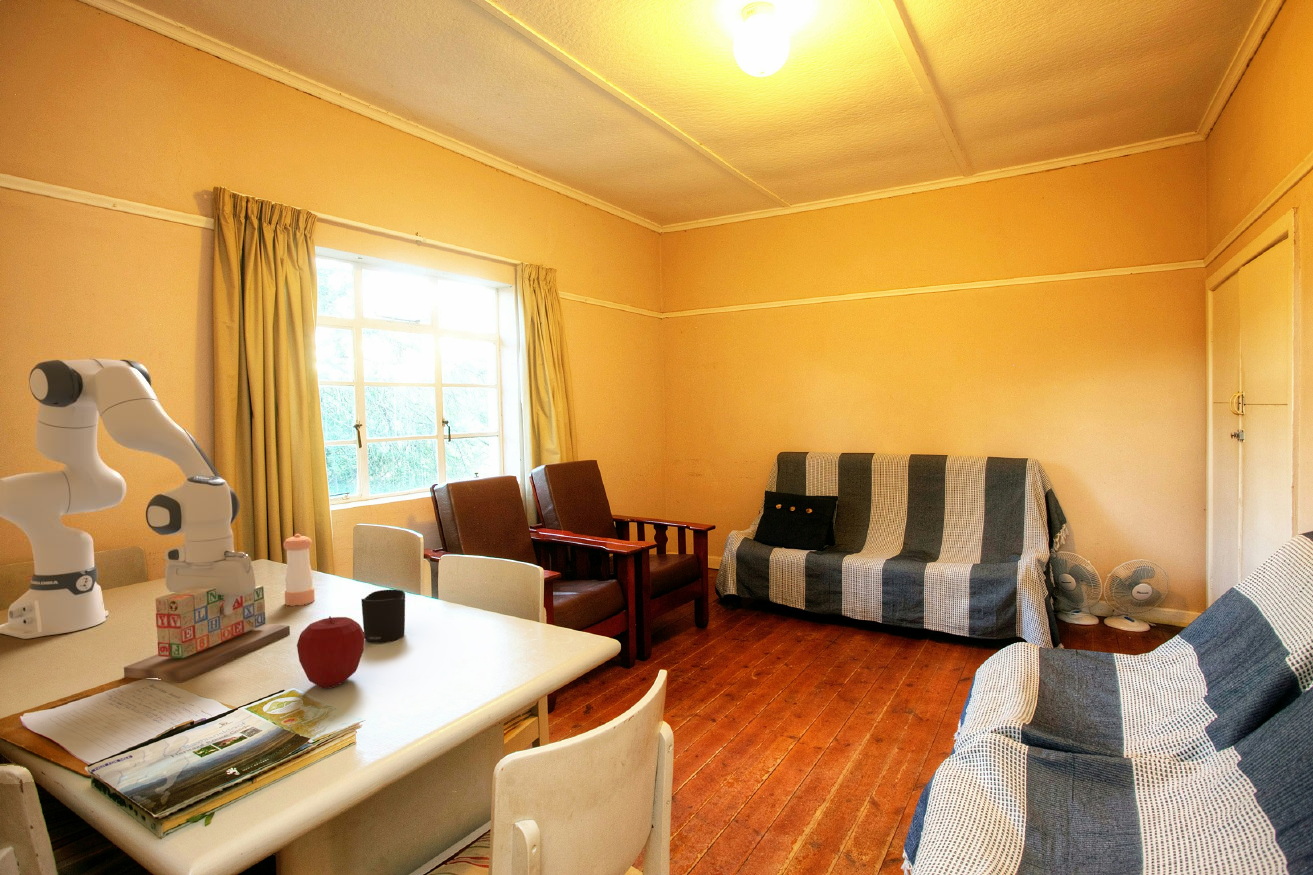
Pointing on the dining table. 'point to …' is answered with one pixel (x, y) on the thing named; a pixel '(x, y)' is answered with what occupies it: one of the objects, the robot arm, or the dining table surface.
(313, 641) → the apple
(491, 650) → the dining table surface
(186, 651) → the stack of blocks
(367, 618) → the pen holder
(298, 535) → the pepper shaker
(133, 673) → the walnut board
